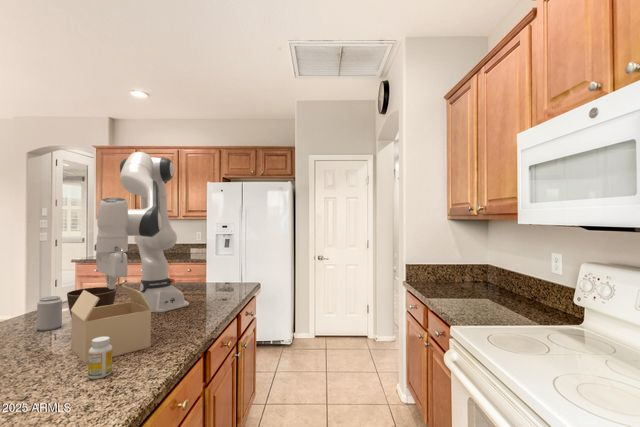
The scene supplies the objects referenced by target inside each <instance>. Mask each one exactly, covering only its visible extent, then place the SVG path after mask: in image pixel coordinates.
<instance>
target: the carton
mask: <svg viewBox="0 0 640 427" xmlns="http://www.w3.org/2000/svg"><path fill="white" fill-rule="evenodd" d="M70 323H71V324H70V327H71V330H70V333H71V335H70V336H71V337H70V349H71V350H72V351H73V352H74V353H75V354H76V355H77V357H78V358H79V359H80V360H81V361H82V362H83V364H84V365H87V364H88V358H89V350H90V348H92V347H93V346H92V340H93V339H95V338H98V337H104V336H106V337H110V342H109V344H110V345H111V346H112V358H113V357H117V356H121V355H124V354H129V353H132V352H136V351H139V350H144V349H147V348H151V347H152V346H151V343H152V340H151V338H152V337H151V336H152V330H151V329H152V312H151V310H150V309H147V308H145V307H143V306H141V305H139V304H138V303H135V302H133V301H132V300H131V301H126V302H120V303H114V304H113V305H106V306H100V307H94V309H93V310H92V312H91V313H90V315H89V317H88V318H87V320H86V321H83V320H82V319H81V318H80V317H78V316H77V315H76V314H75V313H73V312H72V318H71V322H70Z"/></svg>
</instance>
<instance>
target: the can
mask: <svg viewBox="0 0 640 427" xmlns="http://www.w3.org/2000/svg"><path fill="white" fill-rule="evenodd" d="M36 304H37V306H36V307H37V308H36V310H37V311H36V312H37V313H36V329H37V330H39V331H43V332H45V331H47V332H48V331H52V330H57V329H59V328H60V327H61V326H62V322H63V320H62V319H63V300H62V299H61V296H59V295H52V296H50V295H49V296H45V297H41V298H40V299H39V301H37V303H36Z"/></svg>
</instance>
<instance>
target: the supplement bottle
mask: <svg viewBox="0 0 640 427" xmlns="http://www.w3.org/2000/svg"><path fill="white" fill-rule="evenodd" d="M109 342H110V337H106V336H104V337H98V338H95V339H93V340H92V346H93V347H92V348H90V350H89V358H88V363H87V364H88V365H87V366H88V367H87V377H88V378H89V379H91V380H98V379H102V378H103V379H104V378H105V377H107V376H109V375H111V373H112V369H113V368H112V367H113V357H112V346H111V345H110V344H109Z"/></svg>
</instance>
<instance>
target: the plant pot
mask: <svg viewBox="0 0 640 427" xmlns="http://www.w3.org/2000/svg"><path fill="white" fill-rule="evenodd" d="M83 290H85V291H87V292H89V293H91V294H93V295H94V296H96V297H98V298H100V299H99V300H98V302H97V304H96V305H95V307H100V306H106V305H113V304H115V299H116V293H117V288H116V287H115V289H109V288H107V286H95V287H85V288H79V289H74V290H70V291H68V292H67V293H66V298H67V303H68V304H67V306H68V310H69V314H70V318H71V319H72V311H71V309H72V307H73V306H74V304H75V302H76V301H77V299H78V298H79V296H80V295H81V293H82V292H83Z"/></svg>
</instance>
